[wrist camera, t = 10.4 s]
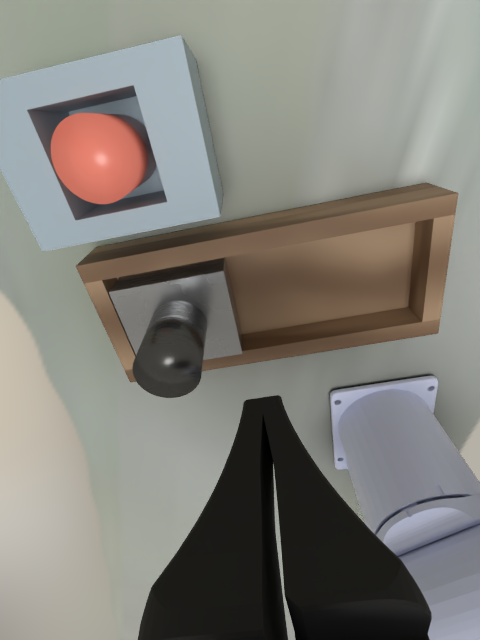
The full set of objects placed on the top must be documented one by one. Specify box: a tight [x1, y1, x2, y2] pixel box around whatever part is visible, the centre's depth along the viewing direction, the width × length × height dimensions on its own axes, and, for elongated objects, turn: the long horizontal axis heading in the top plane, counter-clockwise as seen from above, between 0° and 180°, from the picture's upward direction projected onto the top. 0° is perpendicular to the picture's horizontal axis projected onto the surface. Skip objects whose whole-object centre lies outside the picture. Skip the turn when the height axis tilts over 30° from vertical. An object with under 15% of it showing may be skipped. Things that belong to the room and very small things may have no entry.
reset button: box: [51, 113, 156, 204], centre depth 14 cm, size 3×3×4 cm
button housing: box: [0, 35, 223, 252], centre depth 15 cm, size 6×8×5 cm
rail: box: [76, 183, 458, 382], centre depth 20 cm, size 8×19×3 cm, turn 101°
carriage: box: [109, 257, 242, 398], centre depth 17 cm, size 5×6×6 cm
